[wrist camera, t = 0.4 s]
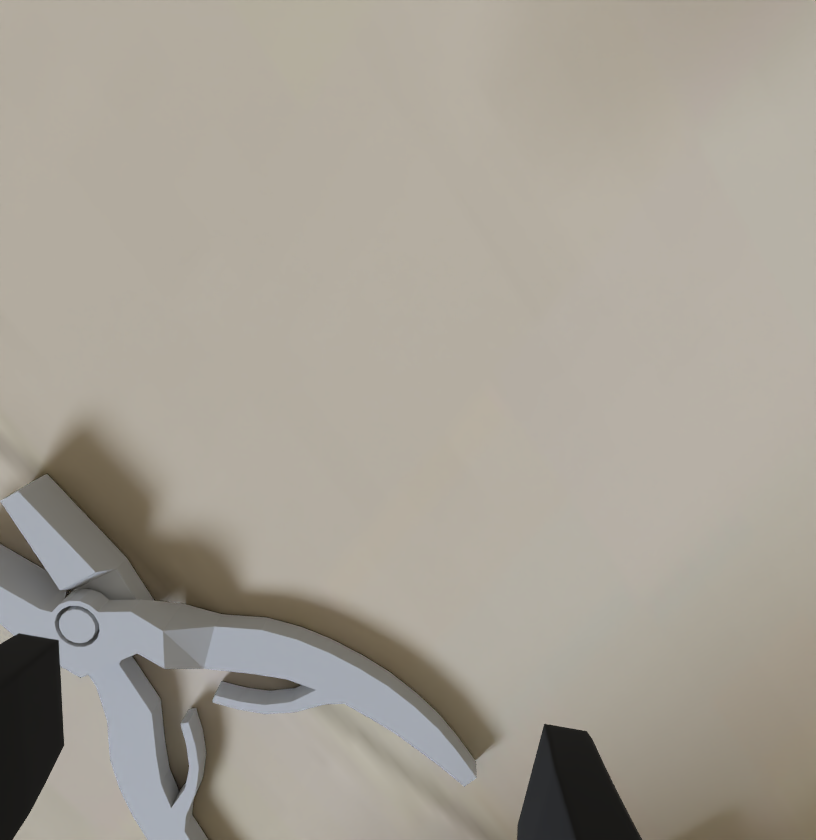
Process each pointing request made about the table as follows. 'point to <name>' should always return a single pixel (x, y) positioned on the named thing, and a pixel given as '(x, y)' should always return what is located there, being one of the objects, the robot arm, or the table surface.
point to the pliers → (181, 658)
